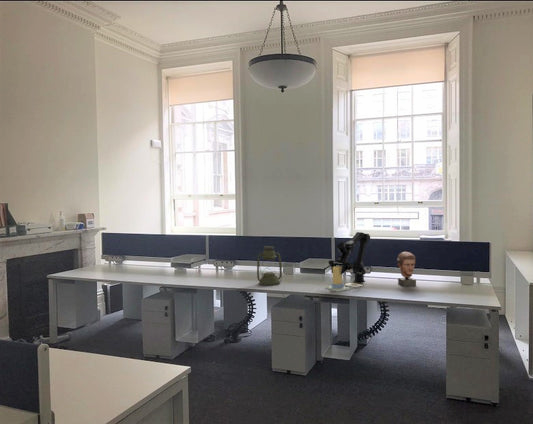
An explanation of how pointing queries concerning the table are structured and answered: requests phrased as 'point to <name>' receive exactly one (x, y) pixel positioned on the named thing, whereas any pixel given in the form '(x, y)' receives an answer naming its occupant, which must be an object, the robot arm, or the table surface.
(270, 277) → the lantern
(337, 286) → the base brick
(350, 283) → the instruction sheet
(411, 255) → the bust
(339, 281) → the pillar brick
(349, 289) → the baseplate
